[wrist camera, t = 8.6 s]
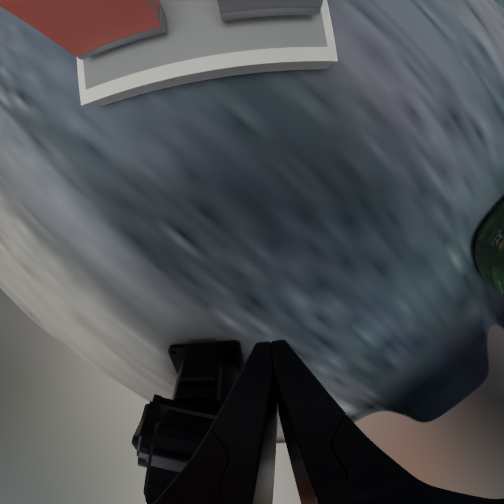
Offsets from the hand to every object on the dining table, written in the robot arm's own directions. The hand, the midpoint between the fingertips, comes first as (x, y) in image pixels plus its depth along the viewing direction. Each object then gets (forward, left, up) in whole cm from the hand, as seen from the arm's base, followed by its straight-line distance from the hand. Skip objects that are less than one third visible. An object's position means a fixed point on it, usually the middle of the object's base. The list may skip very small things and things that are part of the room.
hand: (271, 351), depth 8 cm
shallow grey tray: (+13, +2, -13) cm, 18 cm away
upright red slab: (+13, +6, -9) cm, 17 cm away
